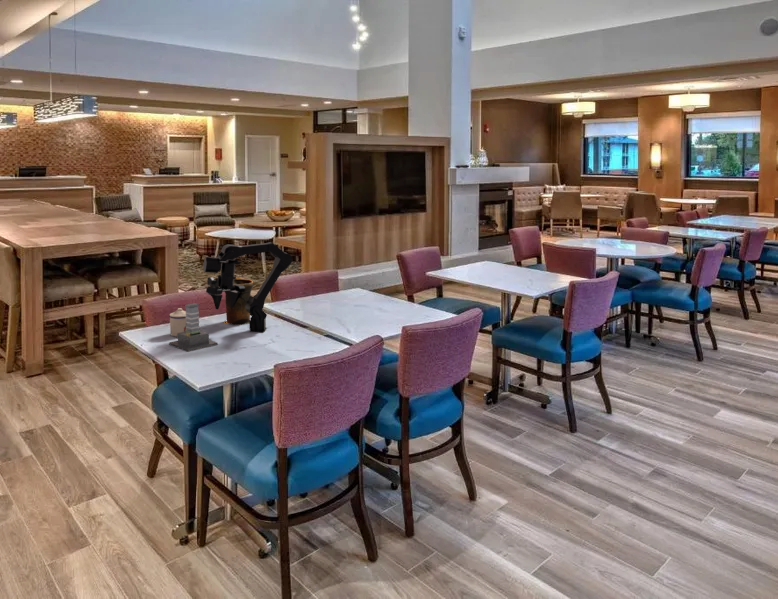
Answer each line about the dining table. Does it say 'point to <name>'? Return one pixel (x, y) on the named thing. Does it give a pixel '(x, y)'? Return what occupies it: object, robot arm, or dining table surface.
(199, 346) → the stand base
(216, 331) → the dining table surface
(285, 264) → the robot arm
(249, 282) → the vessel
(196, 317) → the column
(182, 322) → the teacup with lid
